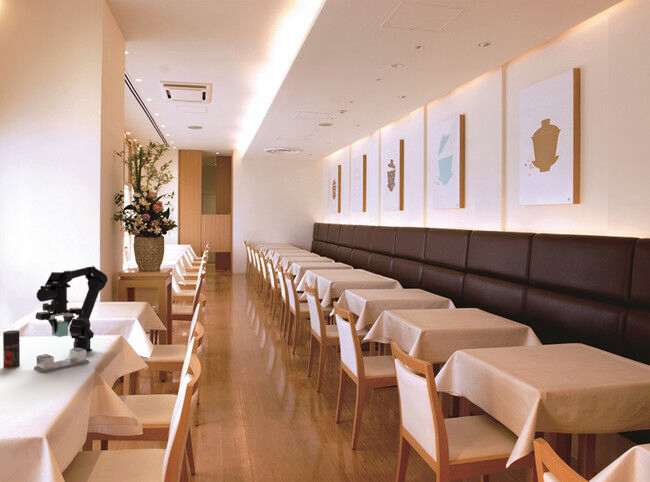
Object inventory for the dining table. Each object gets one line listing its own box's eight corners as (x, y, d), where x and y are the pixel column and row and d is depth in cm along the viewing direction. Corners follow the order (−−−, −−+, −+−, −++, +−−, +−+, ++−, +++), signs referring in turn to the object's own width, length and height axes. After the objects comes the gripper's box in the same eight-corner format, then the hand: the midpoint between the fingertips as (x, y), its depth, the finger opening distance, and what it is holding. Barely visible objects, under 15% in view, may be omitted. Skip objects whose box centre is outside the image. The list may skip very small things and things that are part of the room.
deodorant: (23, 365, 216) (22, 331, 215) (10, 369, 210) (10, 333, 210) (12, 363, 218) (12, 329, 217) (0, 367, 212) (-1, 332, 212)
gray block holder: (78, 359, 227) (78, 346, 227) (88, 362, 222) (88, 349, 221) (34, 368, 211) (34, 355, 211) (44, 372, 206) (44, 358, 206)
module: (60, 333, 231) (60, 319, 230) (68, 335, 227) (68, 321, 226) (52, 334, 227) (51, 321, 227) (59, 336, 223) (59, 323, 223)
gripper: (71, 294, 239) (71, 326, 239) (29, 298, 224) (30, 333, 224) (83, 296, 232) (83, 330, 233) (41, 301, 217) (41, 337, 218)
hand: (60, 332), depth 227 cm, fingers closed on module, 4 cm apart
